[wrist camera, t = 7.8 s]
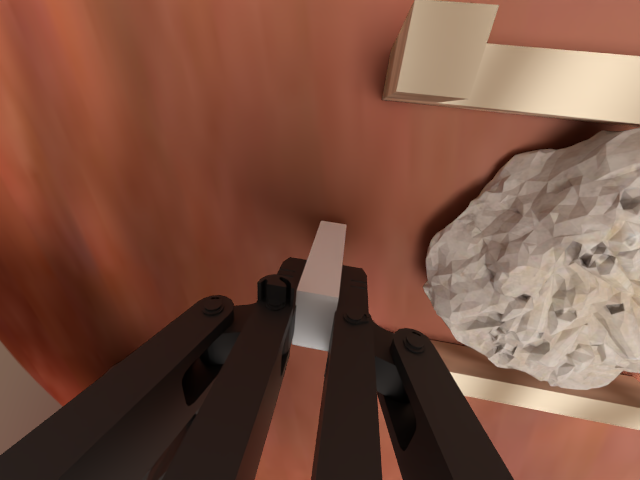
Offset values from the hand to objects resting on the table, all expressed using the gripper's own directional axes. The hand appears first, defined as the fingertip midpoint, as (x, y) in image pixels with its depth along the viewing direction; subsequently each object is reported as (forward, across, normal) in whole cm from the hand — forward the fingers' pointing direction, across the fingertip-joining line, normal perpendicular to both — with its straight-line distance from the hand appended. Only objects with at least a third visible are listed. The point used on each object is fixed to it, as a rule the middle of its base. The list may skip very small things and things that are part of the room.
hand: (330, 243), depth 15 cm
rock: (+1, +11, +1) cm, 11 cm away
